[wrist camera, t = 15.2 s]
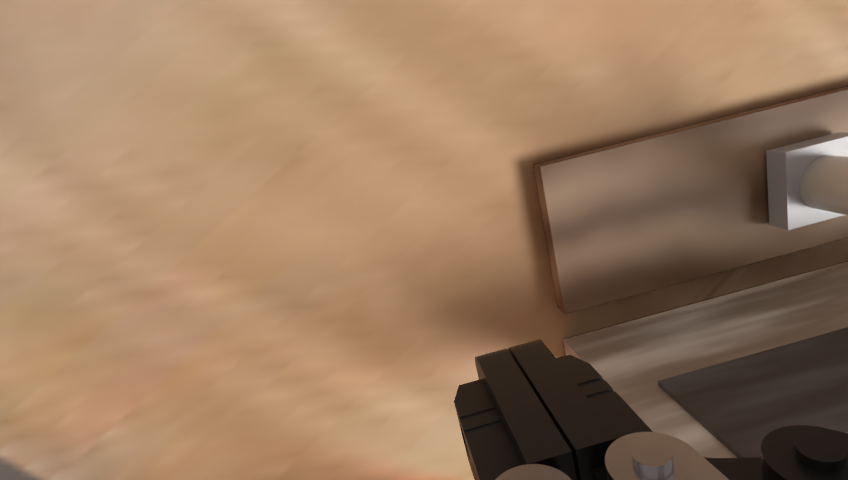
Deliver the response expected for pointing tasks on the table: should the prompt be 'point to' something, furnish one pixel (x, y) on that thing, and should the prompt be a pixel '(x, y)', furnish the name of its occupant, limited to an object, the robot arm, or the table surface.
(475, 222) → the table surface
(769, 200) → the white cylinder on base
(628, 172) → the base
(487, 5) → the table surface
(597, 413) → the robot arm
